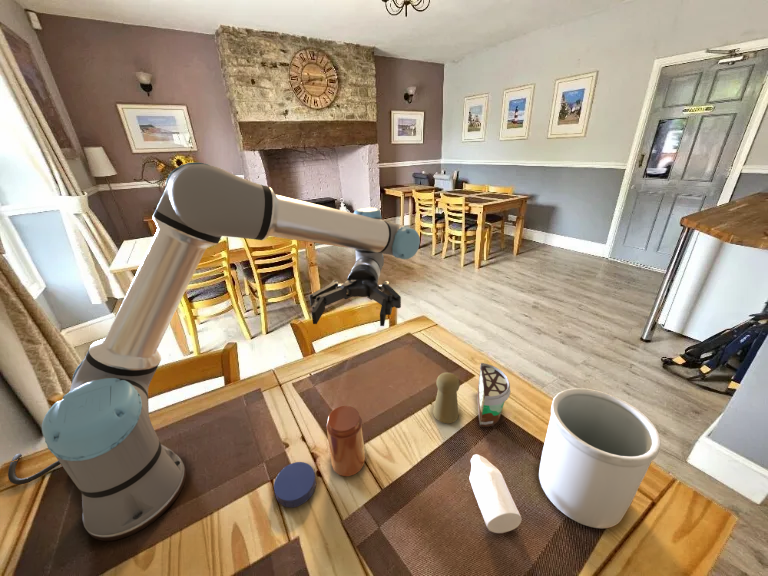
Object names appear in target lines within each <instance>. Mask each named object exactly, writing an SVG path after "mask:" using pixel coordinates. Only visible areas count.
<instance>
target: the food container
mask: <svg viewBox="0 0 768 576" xmlns="http://www.w3.org/2000/svg"><path fill="white" fill-rule="evenodd" d="M510 395H511V384H510V380H509V378H508V377H507V375H506V374H505V372H503V370H501V369H500V368H498V367H496V366H494V365H492V364H489V363H485V362H484V363H483V362H480V366H479V377H478V385H477V394H476V401H477V410H478V421H479V427H481V428H482V427H483V428H486V427H492V426H494V425H496V424H497V423H498V422H499V420H500V418H501V415H502V412H503V408H504V405H505V402H506V401H507V400H508V399H509V398H510Z"/></svg>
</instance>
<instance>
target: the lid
mask: <svg viewBox="0 0 768 576" xmlns="http://www.w3.org/2000/svg"><path fill="white" fill-rule="evenodd" d="M316 486H317V479H316V473H315V470H314V468H313V467H312V466H311V465H310V464H309V463H307V462H304V461H295V462H292V463H289V464H288V465H286V466H284V467H283V468H282V469H281V470H280V471H279V472H278V474H277V476H276V477H275V480H274V484H273V490H274V496H275V498H276V500H277V502H278V504H280V505H281V506H283V507H285V508H297V507H299V506H301V505H303V504H305V503H306V502H307V501H308V500H310V499H311V497H312V496H313V494H314V492H315V489H316Z"/></svg>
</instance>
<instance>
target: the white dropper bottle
mask: <svg viewBox="0 0 768 576" xmlns="http://www.w3.org/2000/svg"><path fill="white" fill-rule="evenodd" d="M470 465H471V467H470V474H469V477H468V478H469V482H470V485H471V489H472V491H473V494H474V497H475V499H476V501H477V505H478V508H479V510H480V513H481V515H482V518H483V520H484V524H485V525H486V528H487V530H488V531H489V532H492V533H495V534H504V533H507V532H510V531H513V530H515V529H517V528H518V527H519V526H520V525H521V524H522V521H523V519H522V515H521V514H520V512H519V509H518V508H517V505H516V503H515V501H514V499H513V497H512V494H511V492H510V489H509V487H508V485H507V484H506V481H505V478H504V476H503V474H502V472H501V471H500V470H499V469H498V467H496V466H495V465H494V464H492V463H491V462H490V461H489V460H488V459H487V458H486V457H484V456H482V455H480V454H477V453H475V454H473V455H472V457H471V458H470Z"/></svg>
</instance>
